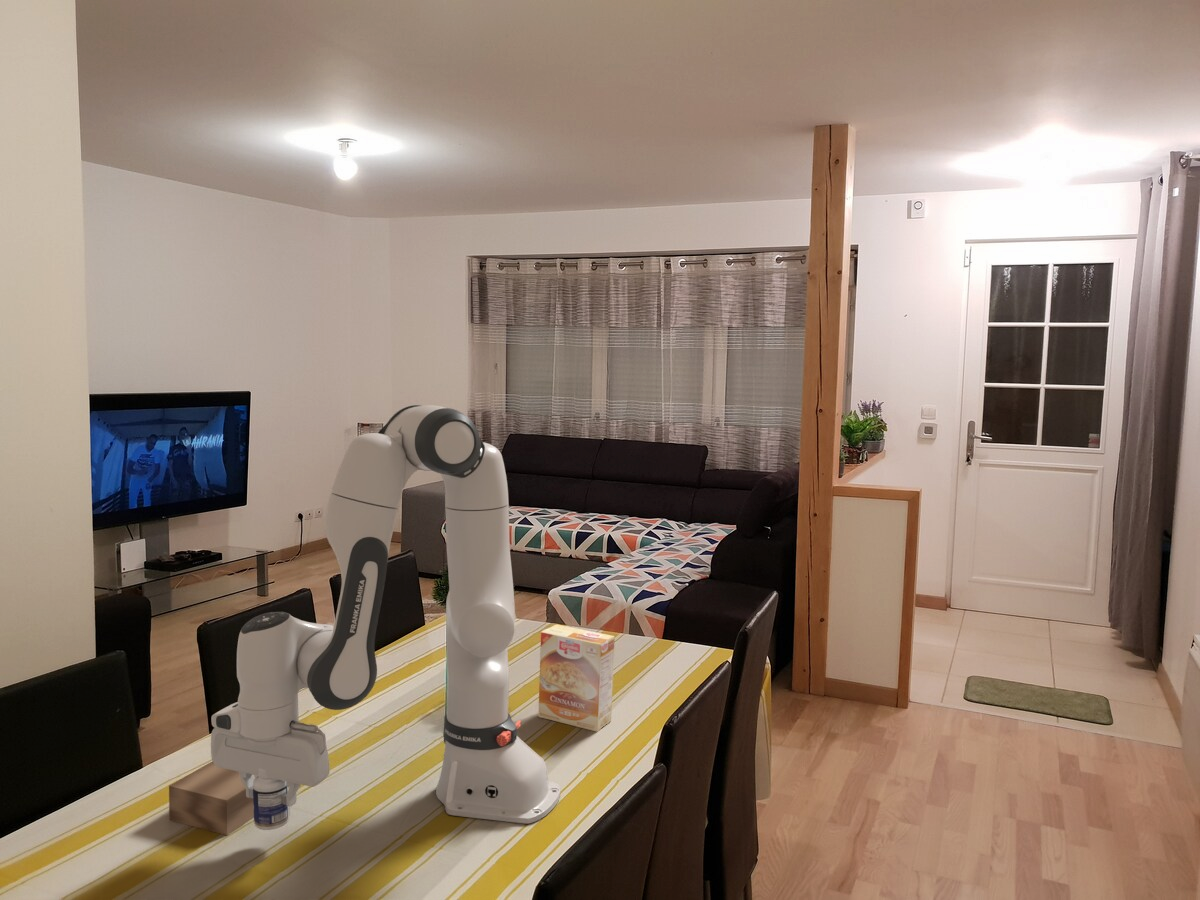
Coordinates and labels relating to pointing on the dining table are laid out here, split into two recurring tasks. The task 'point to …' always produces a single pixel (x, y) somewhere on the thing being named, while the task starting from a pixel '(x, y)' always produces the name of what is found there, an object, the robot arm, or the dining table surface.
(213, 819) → the walnut riser
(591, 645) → the coffeecake box
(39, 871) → the dining table surface
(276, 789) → the pill bottle
